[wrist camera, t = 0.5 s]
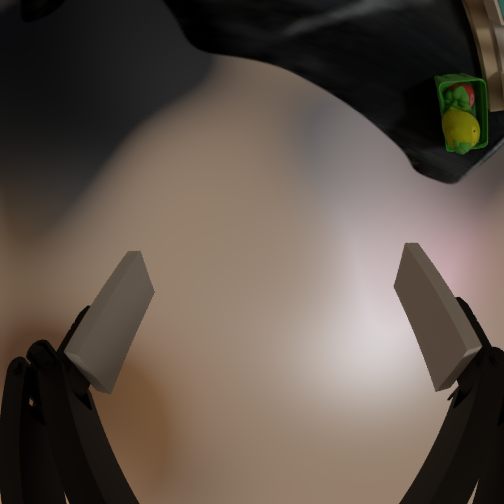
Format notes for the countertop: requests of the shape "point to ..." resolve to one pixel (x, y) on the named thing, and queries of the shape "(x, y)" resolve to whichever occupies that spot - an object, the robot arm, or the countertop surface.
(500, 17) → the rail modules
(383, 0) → the countertop surface
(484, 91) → the fruit basket
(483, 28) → the board
